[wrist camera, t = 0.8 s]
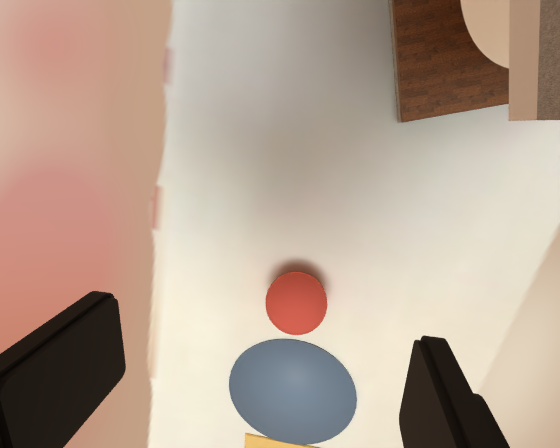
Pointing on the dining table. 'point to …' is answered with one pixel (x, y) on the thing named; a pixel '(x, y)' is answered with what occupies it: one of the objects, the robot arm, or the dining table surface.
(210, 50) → the dining table surface
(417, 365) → the robot arm
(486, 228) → the dining table surface
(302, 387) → the disc
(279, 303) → the ball
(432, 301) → the dining table surface
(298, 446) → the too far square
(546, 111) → the display case
